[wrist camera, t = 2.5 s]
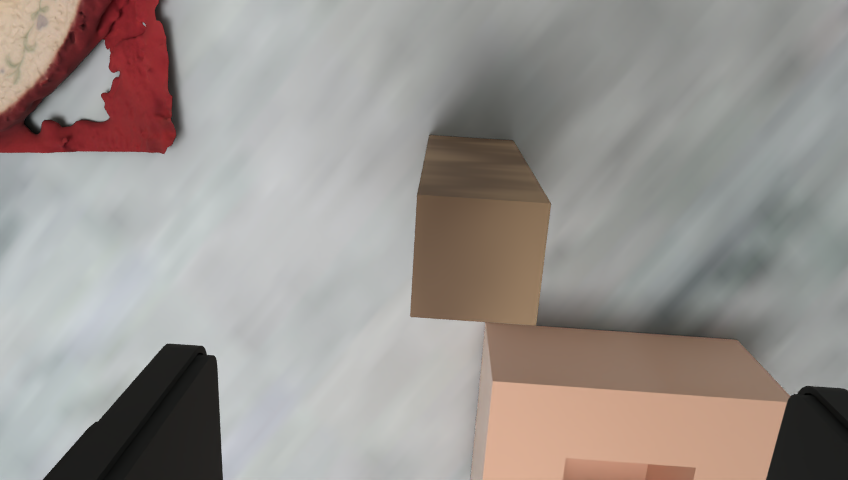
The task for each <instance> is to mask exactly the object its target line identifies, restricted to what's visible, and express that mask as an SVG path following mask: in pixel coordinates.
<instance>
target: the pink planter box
mask: <svg viewBox="0 0 848 480" xmlns="http://www.w3.org/2000/svg"><path fill="white" fill-rule="evenodd" d="M789 398H790V395H789V394H788V393H787V392H786V391H785V390H784V389H783V388H782V387H781V386H780V385H779V384H778V383H777V382H776V381H775V380H774V378H773V377H772V376H771V375H770V374H769V373H768V372H767V371H766V370H765V369H764V368H763V367H762V366H761V365H760V364H759V363H758V361H757V360H756V359H755V358H754V357H753V356H752V355H751V354H750V353H749V352H748V351H747V350H746V349H745V348H744V347H743V346H742V345H741V343H740V342H739V341H738V340H734V339H720V338H705V337H691V336H676V335H662V334H648V333H633V332H619V331H604V330H590V329H576V328H561V327H547V326H532V325H518V324H504V323H489V322H485V331H484V341H483V351H482V362H481V372H480V383H479V393H478V404H477V414H476V424H475V435H474V445H473V456H472V466H471V477H470V480H766V478H767V474H768V470H769V467H770V463H771V459H772V455H773V452H774V448H775V444H776V441H777V437H778V433H779V430H780V426H781V422H782V419H783V415H784V411H785V408H786V404H787V401H788V399H789Z"/></svg>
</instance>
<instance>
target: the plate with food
mask: <svg viewBox="0 0 848 480" xmlns="http://www.w3.org/2000/svg"><path fill="white" fill-rule="evenodd" d="M158 3H159V0H0V153H25V152H32V153H53V152H76V151H100V152H104V151H107V152H149V153H155V152H159V153H162V154H164V153H165V152H166V149H167V147H169V146H171V145H172V144H173V141H174V139H175V137H176V130H175V128H174V124H173V123H172V122H171V117H172V112H171V110H172V98H173V97H172V95H170V94H169V91H168V65H169V59H168V52H167V46H166V35H165V33H164V29H163V25H162V23H161V22H160V21H156V17H155V8H156V6H157V4H158ZM143 22H144V23H145V24H146V27H145V26H144V25H143ZM102 39H105V46H106V48H107V50H108V49H109V48H110V52H111V54H110V63H109V69H110V71H111V72H113V73H115V72H117V71H120V76H119V77H116V78H114V80H113V82H112V87H111V90H110V92H109V93H102V94H101V97H102V99H103V100H104V102H105V106H104V107H105V110H106V111H107V113H108V115H109V116H110V118H109V119H108V120H107V121H104V122H92V121H88V120H80V121H76V122H75V123H74V125H72V126H68V127H61V125H60V124H59V123H57V122H55V121H53V120H44V121H43V122H42V126H41V132H40V133H39V134H35V133H33V132H32V131H30V130H29V129H28V128H27V127H26V126H25V125H24V120H25V118H26V117H27V116H28V115H29V114H30V113H31V112H33V111H34V110H35V109H36V107H37V106H38V105H39V104H40V103H41V101H42V100H43V98H44V97H46V96H48V95H49V94H51V93H52V92H53V91H54V90H55V89H56V88H57V87H58V86H59V84H61V83H62V82H63V81H64V80H65V79H66V78H67V77H68V76H69V75H70V74H71V73H72V72H73V71H74V69H75V68H76V67H77V66H78V65H79V64H80V63H81V62H82V61H83V60H84V58H85V57H86V56H87V55H88V54H89V53H90V52H91V51H92V50H93V49H94V48H95V46H96V45H97V44H98V43H99V42H100V41H101V40H102Z"/></svg>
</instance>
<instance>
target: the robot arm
mask: <svg viewBox="0 0 848 480" xmlns="http://www.w3.org/2000/svg"><path fill="white" fill-rule="evenodd" d="M43 480H223V474H222V454H221V433H220V413H219V392H218V372H217V360H216V357H215V356H214V355H207V354H206V350H205V348H204V347H203V346H196V345H181V344H166V345H165V346H164V347H163V348H162V349H161V350H160V351H159V352H158V354H157V355H156V356H155V357H154V358H153V359H152V360H151V362H150V363H149V364H148V365H147V366H146V367H145V368H144V370H143V371H142V372H141V373H140V374H139V375H138V376H137V378H136V379H135V380H134V381H133V382H132V383H131V384H130V386H129V387H128V388H127V389H126V390H125V391H124V392H123V394H122V395H121V396H120V397H119V398H118V399H117V400H116V402H115V403H114V404H113V405H112V406H111V407H110V408H109V410H108V411H107V412H106V413H105V414H104V415H103V416H102V418H101V419H100V420H99V421H98V422H95V423H94V424H93V425H91V426H90V427H89V428H88V429H87V430H86V431H85V433H84V434H83V435H82V436H81V437H80V438H79V439H78V440H77V442H76V443H75V444H74V445H73V446H72V447H71V448H70V449H69V451H68V452H67V453H66V454H65V455H64V456H63V457H62V459H61V460H60V461H59V462H58V463H57V464H56V465H55V466H54V468H53V469H52V470H51V471H50V472H49V473H48V474H47V475H46V477H45V478H44V479H43ZM766 480H848V391H847V390H845V389H841V388H828V387H813V386H805V387H803V388H802V389H801V390H800V391H799V392H798V394H794V395H791V396H790V398H789V399H788V401H787V404H786V408H785V411H784V415H783V419H782V422H781V426H780V430H779V433H778V437H777V441H776V444H775V448H774V452H773V455H772V459H771V463H770V467H769V470H768V474H767V478H766Z"/></svg>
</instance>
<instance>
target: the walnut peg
mask: <svg viewBox="0 0 848 480" xmlns="http://www.w3.org/2000/svg"><path fill="white" fill-rule="evenodd" d="M550 208H551V203H550V201H549V199H548V198H547V196H546V194H545V193H544V191H543V189H542V188H541V186H540V184H539V183H538V181H537V179H536V178H535V176H534V174H533V173H532V171H531V169H530V168H529V166H528V164H527V163H526V161H525V159H524V158H523V156H522V154H521V153H520V151H519V149H518V148H517V146H516V144H515V143H514V141H513V140H499V139H483V138H468V137H452V136H437V135H429V139H428V144H427V149H426V154H425V159H424V164H423V169H422V173H421V178H420V183H419V188H418V193H417V207H416V225H415V242H414V260H413V277H412V295H411V313H410V317H420V318H434V319H449V320H463V321H477V322H492V323H506V324H520V325H535V326H536V322H537V314H538V306H539V297H540V289H541V281H542V273H543V265H544V257H545V248H546V240H547V232H548V224H549V216H550Z"/></svg>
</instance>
